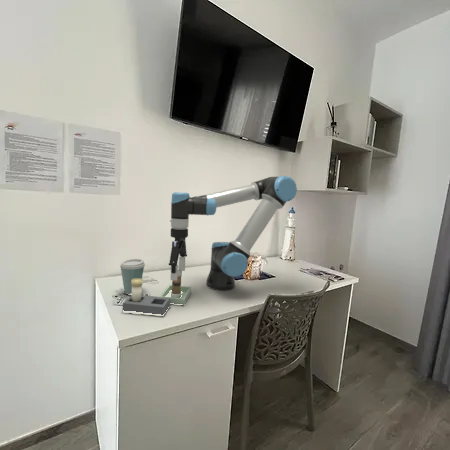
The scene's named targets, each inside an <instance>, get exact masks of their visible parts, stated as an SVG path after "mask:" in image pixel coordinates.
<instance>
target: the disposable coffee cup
mask: <svg viewBox="0 0 450 450" xmlns="http://www.w3.org/2000/svg"><path fill="white" fill-rule="evenodd" d="M145 264H146V263H145V261H144V259H142V258H141V259H140V258H131V259H130V258H129V259H126V260H124V261H122V262H121V263H120V265H119V266H120V271H121V278H122V285H123V291H124V294H125V293H129V294H130V293H132V286H131V280H132V279H135V278H140V279H142V280H143V275H144V270H145V269H144V268H145V267H146V265H145Z"/></svg>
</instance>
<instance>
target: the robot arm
mask: <svg viewBox="0 0 450 450" xmlns="http://www.w3.org/2000/svg"><path fill="white" fill-rule="evenodd" d="M297 189H298V187H297V184H296V181H295V180H294V178H293V177H291V176H287V175H279V176H269V177H266V178H262V179H260V180H256V181H253V182H251V183H250V184H247V185H244V186H243V185H242V186H239V187H234V188H230V189H226V190H225V189H224V190H221V191H216V192H213V193H208V194H203V195H198V196H192V197H190V193H189V192H182V191H181V192H178V191H174V192H172V193H171V201H170V202H171V203H170V213H171V214H170V220H169V222H170V237H171V238H174V241H173V240H172V242H171V251H170V256H169V257H170V258H169V263H168V266H170V281H172V280H175V281H177V274H178V270H181V271H182V272H185V270H186V257H188V254H187V244H186V238H188V237H189V216H190V215H191V216H193V215H197V216H214V215H215V214H216V212H217V208H221V207H225V206H230V205H234V204H238V203H242V202H247V201H250V200H255V201H258V200H261V201H260V202H259V204H258V205H257V207H256V209H255V210H254V211H253V213H252V215H251V216H250V217H249V219H248V220H247V222H246V223H245V225H244V226H243V228H242V229H241V231H240V232H239V234H238V235H237V237H236V238H235V240H232V241H230V242H229V241H215V242H213V243H212V244H211V247H210V248H211V252H210V253H211V255H210V270H209V273H208V275H207V278H206V283H205V284H206V287H208V288H209V287H210V289H212V288H213V289H212V290H216V289H217V290H218V291H229V290H232V289H234V288H235V285H236V280H235V277H239V276H241V275H243V274H244V273H245V272H246V270H247V269H248V266H249V264H248V262H249V261H248V260H249V258H250V257H251V251H252V248H253V247H254V245H255V243H256V242H257V240H258V239H259V238H260V236H261V235H262V233H263V232H264V230H265V229H266V228H267V225H268V224H269V223H270V221H271V220H272V218H273V217H274V215H275V214H276V212H277V211H278V210H281V209H283V207H284V206H285V205H286V203H288V202H290V201H292V200H293V199H294V198H295V197H296V195H297V191H298V190H297Z"/></svg>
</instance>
